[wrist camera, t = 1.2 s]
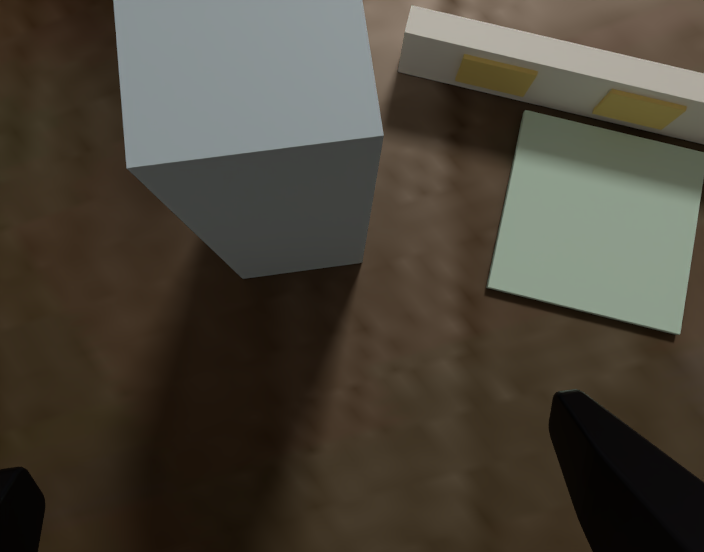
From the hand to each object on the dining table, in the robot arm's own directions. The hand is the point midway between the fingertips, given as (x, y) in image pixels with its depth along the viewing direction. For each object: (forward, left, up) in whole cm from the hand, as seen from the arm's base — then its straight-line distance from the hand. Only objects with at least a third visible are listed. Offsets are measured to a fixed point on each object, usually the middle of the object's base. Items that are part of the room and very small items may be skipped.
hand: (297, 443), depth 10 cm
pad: (+13, -5, -13) cm, 19 cm away
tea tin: (+6, +6, -13) cm, 16 cm away
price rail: (+18, -3, -13) cm, 23 cm away
